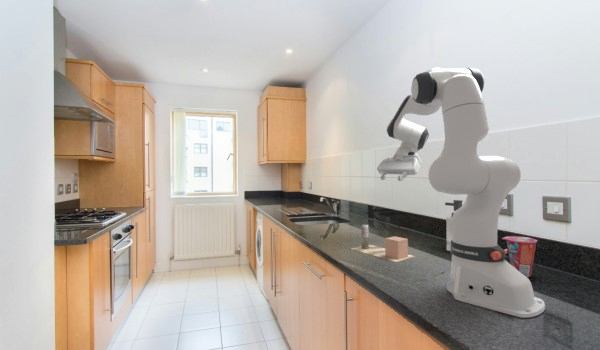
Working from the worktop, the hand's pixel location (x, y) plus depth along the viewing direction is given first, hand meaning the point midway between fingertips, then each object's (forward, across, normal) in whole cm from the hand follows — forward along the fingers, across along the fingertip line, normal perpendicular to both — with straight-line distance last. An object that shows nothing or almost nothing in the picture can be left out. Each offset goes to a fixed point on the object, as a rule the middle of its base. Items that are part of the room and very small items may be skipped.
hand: (390, 179), depth 133 cm
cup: (+20, +49, +22) cm, 58 cm away
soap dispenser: (+10, +22, +33) cm, 41 cm away
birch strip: (+32, +7, +11) cm, 35 cm away
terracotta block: (+31, +14, +10) cm, 36 cm away
